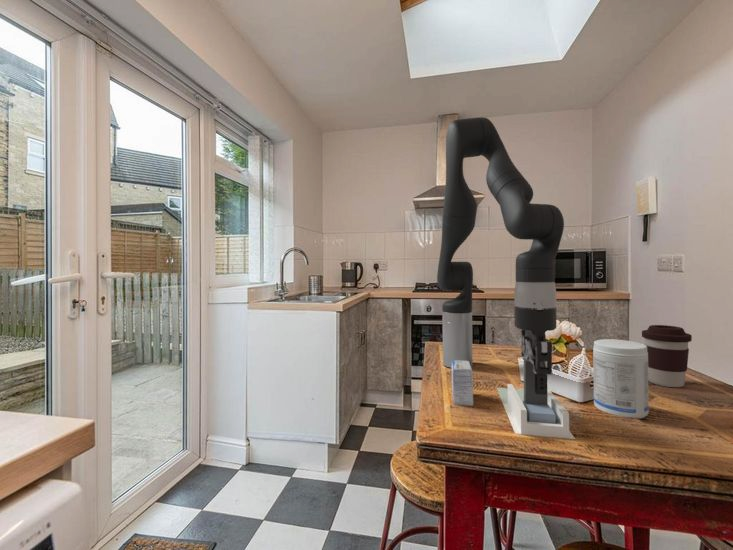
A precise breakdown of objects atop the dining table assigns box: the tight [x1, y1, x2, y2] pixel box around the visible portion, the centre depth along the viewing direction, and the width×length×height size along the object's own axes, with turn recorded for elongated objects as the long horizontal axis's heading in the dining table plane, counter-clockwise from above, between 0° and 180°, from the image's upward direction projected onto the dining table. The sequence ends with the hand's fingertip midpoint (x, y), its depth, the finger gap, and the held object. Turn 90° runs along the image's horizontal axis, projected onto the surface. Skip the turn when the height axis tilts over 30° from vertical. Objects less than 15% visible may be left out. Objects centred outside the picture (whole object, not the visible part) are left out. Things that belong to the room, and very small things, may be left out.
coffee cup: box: [641, 324, 693, 388], centre depth 91 cm, size 10×10×15 cm
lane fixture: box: [496, 383, 576, 440], centre depth 75 cm, size 25×10×5 cm, turn 167°
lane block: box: [523, 359, 556, 424], centre depth 67 cm, size 6×4×12 cm
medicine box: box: [450, 360, 474, 406], centre depth 81 cm, size 8×4×9 cm, turn 168°
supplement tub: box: [592, 338, 649, 420], centre depth 74 cm, size 10×10×15 cm
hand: (535, 386), depth 69 cm, fingers open, 7 cm apart
